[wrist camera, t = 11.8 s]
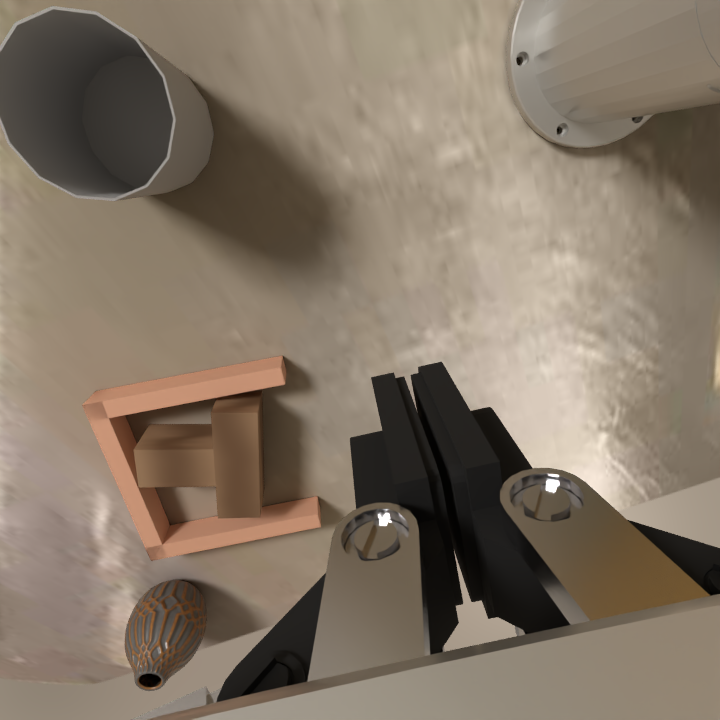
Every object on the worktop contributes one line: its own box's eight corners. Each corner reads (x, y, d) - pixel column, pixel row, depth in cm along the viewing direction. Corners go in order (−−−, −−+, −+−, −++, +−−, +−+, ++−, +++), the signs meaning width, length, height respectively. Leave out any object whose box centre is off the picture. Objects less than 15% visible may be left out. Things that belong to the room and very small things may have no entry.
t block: (262, 390, 40) (257, 412, 37) (264, 488, 44) (260, 517, 40) (145, 389, 39) (128, 412, 35) (157, 490, 43) (143, 520, 39)
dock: (282, 355, 39) (280, 367, 37) (320, 508, 45) (320, 526, 43) (95, 391, 39) (82, 405, 36) (159, 540, 45) (151, 560, 43)
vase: (126, 585, 47) (87, 673, 38) (188, 558, 46) (162, 641, 38) (166, 628, 49) (137, 719, 41) (225, 603, 49) (208, 690, 41)
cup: (225, 183, 34) (193, 189, 25) (110, 201, 34) (34, 212, 24) (193, 46, 31) (143, -7, 22) (66, 64, 31) (-41, 18, 21)
